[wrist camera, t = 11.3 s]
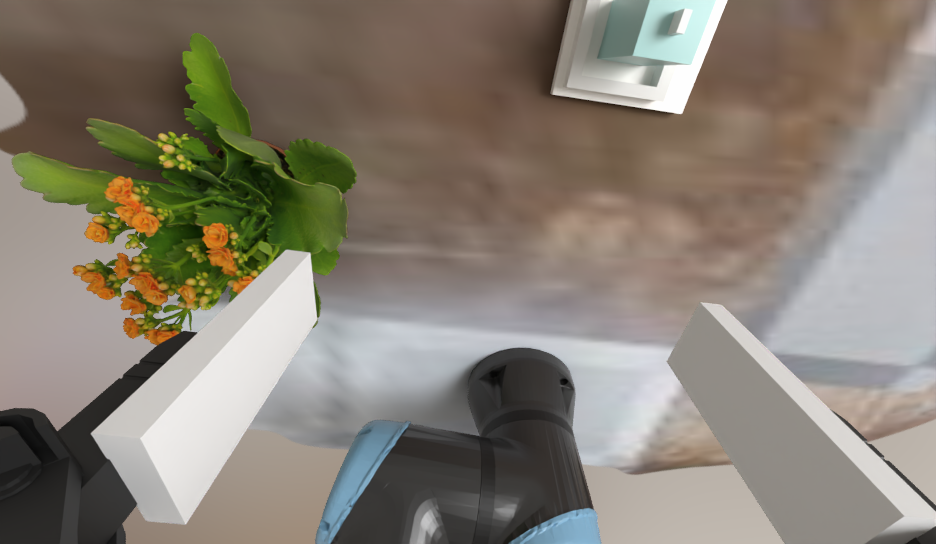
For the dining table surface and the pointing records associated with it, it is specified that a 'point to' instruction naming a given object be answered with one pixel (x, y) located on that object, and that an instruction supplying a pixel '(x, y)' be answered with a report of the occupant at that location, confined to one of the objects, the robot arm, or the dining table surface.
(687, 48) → the block
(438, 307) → the dining table surface
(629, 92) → the outlet plate
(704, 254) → the dining table surface
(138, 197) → the potted flower
